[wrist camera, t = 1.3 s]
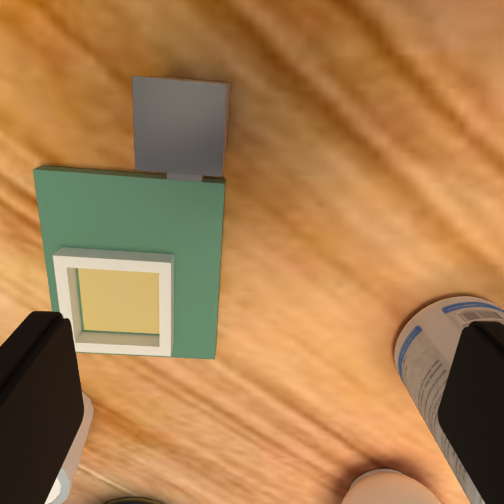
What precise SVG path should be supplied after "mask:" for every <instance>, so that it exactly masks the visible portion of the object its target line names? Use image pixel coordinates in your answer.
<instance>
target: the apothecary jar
mask: <svg viewBox="0 0 504 504" xmlns="http://www.w3.org/2000/svg"><path fill="white" fill-rule="evenodd" d="M105 504H163V503H160V502H158V501H155V500H151V499H146V498H137V497H130V498H123V499H117V500H113V501H110V502H108V503H105Z"/></svg>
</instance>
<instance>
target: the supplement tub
mask: <svg viewBox="0 0 504 504" xmlns="http://www.w3.org/2000/svg"><path fill="white" fill-rule="evenodd" d="M473 321H497V322H500V323H502V324H503V325H504V310H502V309H501V308H500V307H499V306H497V305H496V304H494V303H492V302H490V301H487V300H485V299H482V298H477V297H471V296H458V297H451V298H446V299H443V300H440V301H437V302H435V303H433V304H430V305H429V306H427V307H425V308H423V309H422V310H421V311H419V312H418V313H417V314H415V315H414V316H413V317H412V318H411V319H410V321H409V322H408V323H407V324H406V326H405V327H404V328H403V330H402V331H401V333H400V335H399V337H398V339H397V342H396V346H395V352H394V359H395V365H396V369H397V372H398V374H399V376H400V378H401V380H402V381H403V383H404V385H405V387H406V389H407V390H408V392H409V394H410V396H411V398H412V399H413V401H414V403H415V405H416V407H417V408H418V410H419V412H420V414H421V416H422V417H423V419H424V421H425V423H426V425H427V426H428V428H429V430H430V432H431V433H432V435H433V437H434V439H435V441H436V442H437V444H438V446H439V448H440V449H441V451H442V453H443V455H444V456H445V458H446V460H447V462H448V464H449V465H450V467H451V469H452V471H453V473H454V474H455V476H456V478H457V480H458V482H459V483H460V485H461V487H462V489H463V490H464V492H465V494H466V496H467V498H468V499H469V501H470V503H471V504H485V503H484V501H483V499H482V497H481V496H480V494H479V492H478V491H477V489H476V487H475V485H474V484H473V482H472V480H471V479H470V477H469V475H468V473H467V472H466V470H465V468H464V467H463V465H462V463H461V461H460V460H459V458H458V456H457V455H456V453H455V451H454V449H453V448H452V446H451V444H450V443H449V441H448V439H447V437H446V436H445V434H444V432H443V430H442V429H441V427H440V425H439V422H438V408H439V405H440V402H441V398H442V395H443V392H444V388H445V385H446V382H447V378H448V375H449V372H450V368H451V365H452V362H453V358H454V355H455V352H456V348H457V345H458V342H459V338H460V335H461V332H462V330H463V329H464V327H468V326H469V324H470V323H471V322H473Z"/></svg>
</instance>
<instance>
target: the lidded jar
mask: <svg viewBox="0 0 504 504" xmlns="http://www.w3.org/2000/svg"><path fill="white" fill-rule="evenodd" d="M341 504H441V502H440V501H439V500H438V499H437V497H436V496H435V495H434V494H433V493H432V492H431V491H430V490H429V489H428V488H426V487H425V486H424V485H423V484H421V483H420V482H418V481H416V480H415V479H413V478H410V477H408V476H405V475H404V474H403V473H401V472H400V471H397V470H394V469H387V468H381V469H375V470H371V471H368V472H366V473H363V474H362V475H360V476H359V477H357V478H356V479H355V480H354V481H353V482H352V484H351V486H350V488H349V491H348V492H347V494H346V495H345V497H344V499H343V501H342V503H341Z"/></svg>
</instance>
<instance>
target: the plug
mask: <svg viewBox="0 0 504 504" xmlns="http://www.w3.org/2000/svg"><path fill="white" fill-rule="evenodd" d="M132 86H133V116H134V146H135V170H137V171H150V172H163V173H167V179H170V180H184V181H197V182H202V179H203V177H204V176H216V177H222V174H223V169H224V163H225V158H226V153H227V143H228V125H229V108H230V90H231V83H230V82H219V81H207V80H196V79H185V78H174V77H157V76H132Z"/></svg>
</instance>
